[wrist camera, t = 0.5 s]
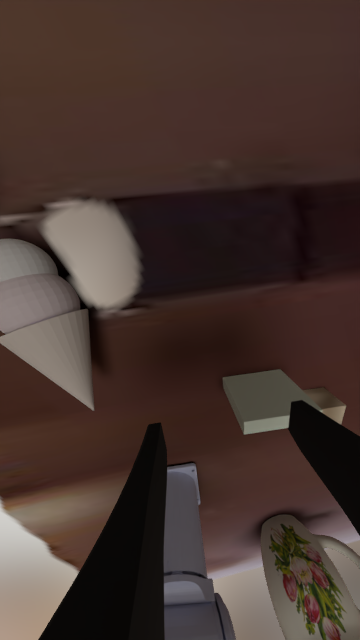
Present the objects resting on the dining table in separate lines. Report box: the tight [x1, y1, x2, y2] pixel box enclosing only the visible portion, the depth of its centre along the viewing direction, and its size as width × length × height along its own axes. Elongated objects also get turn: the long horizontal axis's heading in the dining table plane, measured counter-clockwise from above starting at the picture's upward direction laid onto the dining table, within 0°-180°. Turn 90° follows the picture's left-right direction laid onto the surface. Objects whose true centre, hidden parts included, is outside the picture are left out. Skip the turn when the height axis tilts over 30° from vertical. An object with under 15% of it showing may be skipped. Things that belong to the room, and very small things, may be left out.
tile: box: [223, 369, 323, 434], centre depth 18 cm, size 2×7×6 cm, turn 96°
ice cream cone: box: [0, 239, 94, 411], centre depth 14 cm, size 6×6×15 cm
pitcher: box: [261, 515, 360, 640], centre depth 26 cm, size 11×18×14 cm, turn 108°
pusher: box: [302, 387, 346, 424], centre depth 19 cm, size 3×8×9 cm, turn 7°
